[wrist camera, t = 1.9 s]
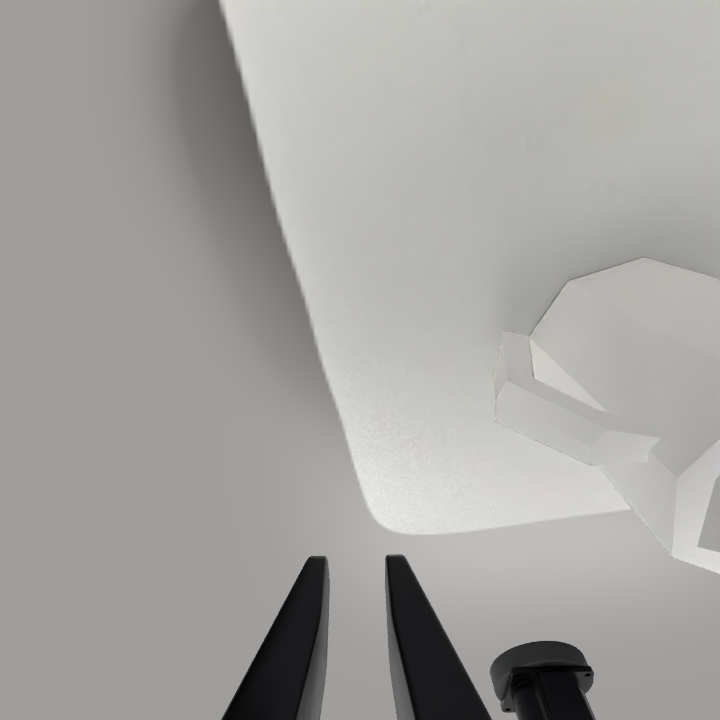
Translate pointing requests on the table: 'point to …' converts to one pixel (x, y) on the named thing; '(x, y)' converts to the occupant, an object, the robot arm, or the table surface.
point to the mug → (630, 393)
